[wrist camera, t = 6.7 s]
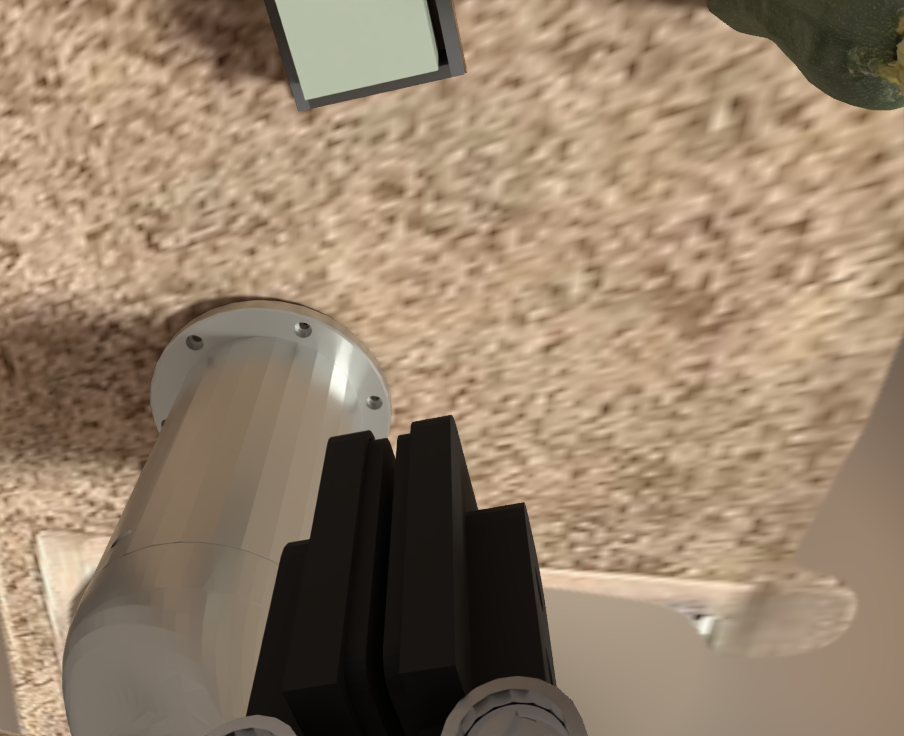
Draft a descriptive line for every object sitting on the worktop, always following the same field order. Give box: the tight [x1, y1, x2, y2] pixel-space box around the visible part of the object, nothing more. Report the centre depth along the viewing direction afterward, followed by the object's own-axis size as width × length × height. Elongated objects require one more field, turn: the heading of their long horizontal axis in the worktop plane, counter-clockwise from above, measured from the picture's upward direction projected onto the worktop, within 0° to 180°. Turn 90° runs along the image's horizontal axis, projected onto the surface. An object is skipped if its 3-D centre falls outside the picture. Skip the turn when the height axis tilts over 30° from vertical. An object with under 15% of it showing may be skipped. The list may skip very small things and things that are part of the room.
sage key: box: [275, 0, 438, 100], centre depth 31 cm, size 5×5×4 cm
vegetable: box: [707, 0, 904, 110], centre depth 26 cm, size 4×4×20 cm
